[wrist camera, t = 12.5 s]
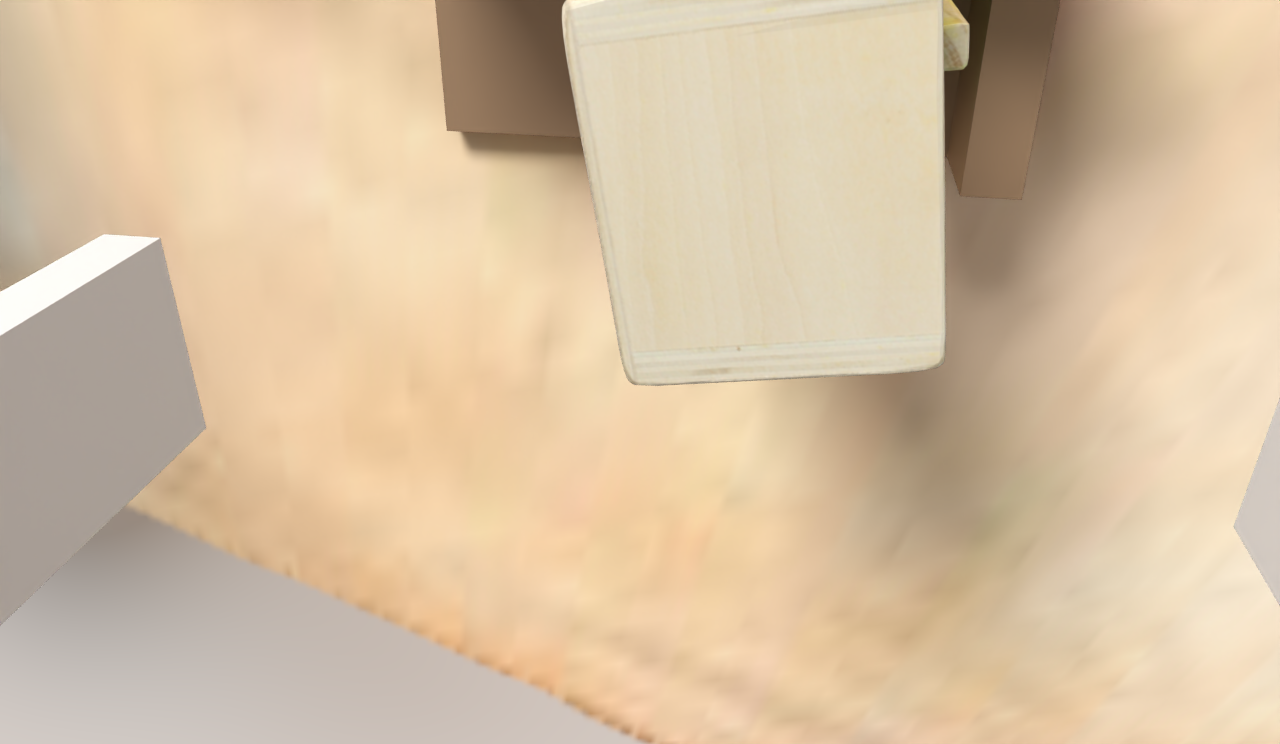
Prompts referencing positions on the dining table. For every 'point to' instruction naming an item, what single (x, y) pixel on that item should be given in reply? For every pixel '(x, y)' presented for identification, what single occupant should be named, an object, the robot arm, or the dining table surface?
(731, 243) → the toy refrigerator
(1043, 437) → the dining table surface
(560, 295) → the dining table surface
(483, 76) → the cleat board
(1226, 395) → the dining table surface
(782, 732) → the dining table surface
